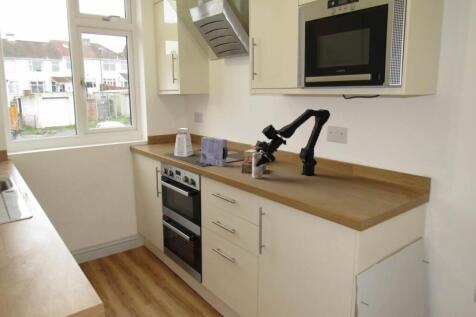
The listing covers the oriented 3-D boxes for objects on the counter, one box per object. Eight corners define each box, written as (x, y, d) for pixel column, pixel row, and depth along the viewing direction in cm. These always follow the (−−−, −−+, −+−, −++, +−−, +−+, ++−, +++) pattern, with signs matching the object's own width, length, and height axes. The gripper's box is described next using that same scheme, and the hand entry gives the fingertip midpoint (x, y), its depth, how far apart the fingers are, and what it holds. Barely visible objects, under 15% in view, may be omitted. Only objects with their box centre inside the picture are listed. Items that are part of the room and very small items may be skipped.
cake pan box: (228, 165, 227) (228, 138, 223) (223, 167, 223) (223, 139, 219) (204, 162, 237) (204, 136, 234) (200, 163, 233) (200, 137, 230)
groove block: (265, 169, 217) (266, 161, 216) (263, 174, 205) (263, 165, 204) (245, 168, 219) (245, 160, 218) (241, 172, 208) (241, 164, 207)
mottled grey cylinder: (260, 176, 199) (260, 152, 196) (262, 177, 196) (262, 153, 193) (251, 176, 198) (252, 152, 195) (253, 178, 194) (254, 153, 191)
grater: (186, 156, 256) (186, 129, 252) (174, 155, 259) (173, 128, 256) (192, 154, 266) (192, 128, 262) (180, 153, 269) (180, 127, 265)
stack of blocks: (252, 166, 228) (252, 147, 225) (243, 164, 231) (244, 146, 229) (266, 160, 246) (266, 143, 244) (258, 159, 249) (258, 142, 247)
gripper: (259, 133, 202) (240, 152, 201) (270, 137, 184) (250, 158, 183) (271, 146, 206) (253, 165, 205) (284, 151, 188) (264, 172, 187)
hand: (254, 165), depth 195 cm, fingers open, 4 cm apart
